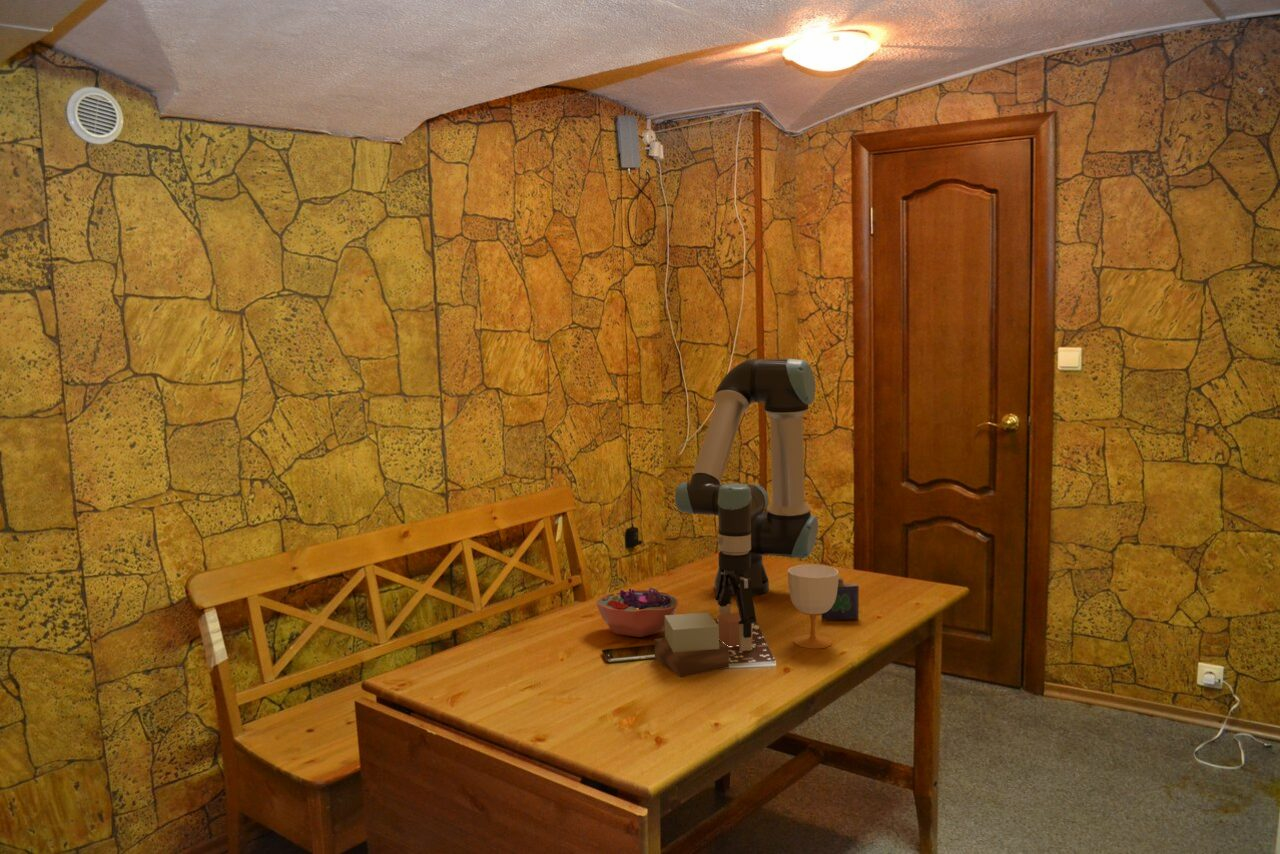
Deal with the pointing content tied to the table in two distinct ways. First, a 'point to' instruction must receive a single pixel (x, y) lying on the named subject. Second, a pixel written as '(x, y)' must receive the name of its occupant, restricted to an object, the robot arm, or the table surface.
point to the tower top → (691, 632)
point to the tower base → (691, 659)
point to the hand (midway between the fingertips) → (734, 641)
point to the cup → (813, 597)
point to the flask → (844, 603)
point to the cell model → (636, 611)
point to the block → (730, 628)
